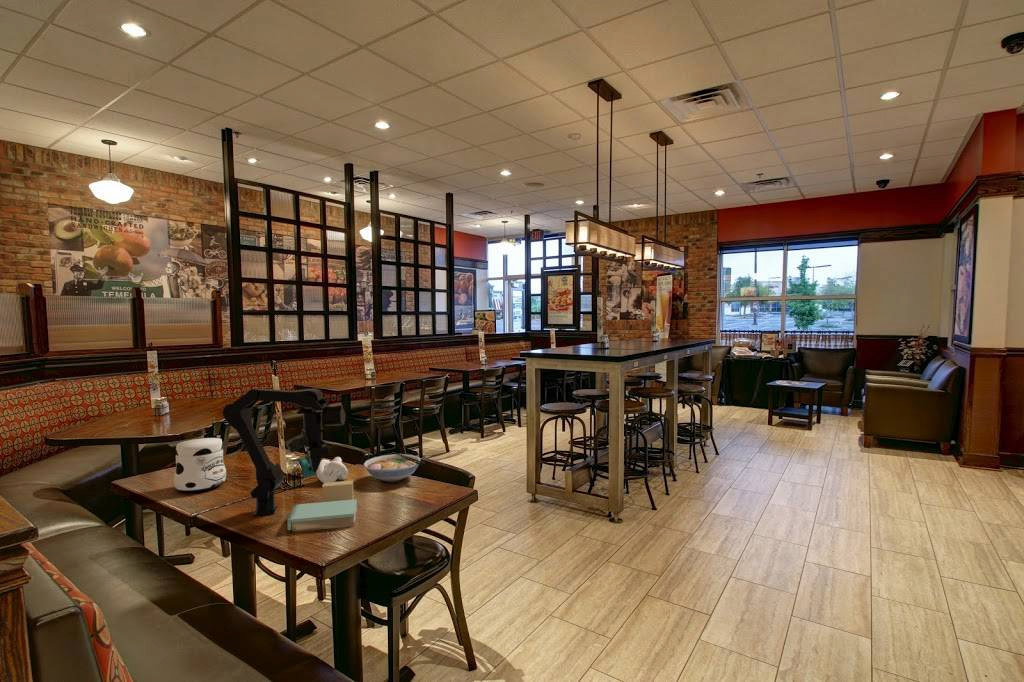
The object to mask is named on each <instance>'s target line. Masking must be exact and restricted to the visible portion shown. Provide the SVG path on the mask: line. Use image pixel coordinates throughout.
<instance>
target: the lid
mask: <svg viewBox="0 0 1024 682" xmlns="http://www.w3.org/2000/svg"><path fill="white" fill-rule="evenodd" d="M357 500H358V499H357V498H355V499H354V498H353V500H343V501H331V502H323V501H321V502H311V503H310V502H309V503H301V504H300V503H299V504H295V505H294V507H293V509H292V511H291V512H290V515H289V516H288V518H287V531H292V523H294V522H304V521H314V520H325V519H335V518H345V517H354V515H355V509H356V504H357V505H358V501H357Z"/></svg>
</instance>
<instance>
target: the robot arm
mask: <svg viewBox="0 0 1024 682" xmlns="http://www.w3.org/2000/svg"><path fill="white" fill-rule="evenodd" d="M323 395H324V394H323V392H322V390H320V389H319V388H316V387H315V388H306V389H299V390H289V389H288V390H287V389H276V388H275V389H274V388H273V389H272V388H262V387H261V388H260V387H254V388H251V389H249V390H248V391H247V392H246V393H245V394H243V395H242V396H241V397H239V398H238V399H236V400H235V401H233V402H231V403H228V404H227V405H225V406H224V408H223V410H222V413H221V414H222V417H223V418H224V420H225V421H226V423H228V424H227V425H229V426H230V427H231V428H233V429H234V430H236V432H237V434H238V436H239V437H240V440H241V442H242V444H243V445H244V447H245V450H246V452H247V454H248V456H249V457H250V460H251V462H252V464H253V466H254V467H255V468H254V469H255V479H256V483H257V486H255V487H254V488H253V489H252V490H251V491H250V496H251V498H252V499H255V511H254V512H253V514H252V516H253V517H257V516H268V515H274V514H275V513H276V512H277V510H278V508H279V507H278V506H279V505H276V496H275V495H276V493H275V492H276V491H277V490H278V489H279V486H280V485H281V484H282V483H283V482H284V475H285V474H284V472H283V471H282V470H281V465H280V463H278V462H277V463H276V464H274V462H272V461H271V460H270V458H269V456H268V454H267V452H266V450H265V448H264V446H263V443H262V442H261V440H260V438H259V436H258V434H257V432H256V430H255V428H254V426H253V423H252V419H253V418H252V416H253V415H252V411H251V409H252V408H253V407H254V406H255V405H256V404H257V403H258V402H260V401H262V402H274V403H275V402H277V403H289V404H295V405H296V406H299V407H300V408H299V410H297V411H296V414H297V415H302V417H303V428H302V430H301V434H299V435H296V436H294V437H292V438H290V439H288V440H286V441H285V445H286V447H287V449H288V451H289V452H290V453H293V452H296V451H297V450H298V449H303V447H304V450H302V453H303V454H304V455H305V456H308V458H309V461H310V464H311V467H312V471H313V472H317V469H318V467H319V465H320V462H321V460H323V457H324V456H329V455H330V454H331V449H330V447H328V445H326V444H325V440H323V433H324V428H323V425H325V426H327V427H329V426H344V425H345V422H346V412H345V409H344V407H343V406H344V405H343V404H337V405H330V404H329V402H328V401H327V400H326V399H325V398H324V396H323Z"/></svg>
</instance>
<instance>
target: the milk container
mask: <svg viewBox="0 0 1024 682" xmlns="http://www.w3.org/2000/svg"><path fill="white" fill-rule="evenodd" d="M222 440H223V439H222V438H218V437H204V438H194V439H188V440H184V441H181V442H178V443H176V447H175V464H176V465H175V471H174V473H173V485H174V488H175V489H176V490H177V491H179V492H183V493H197V492H202V491H203V492H204V491H207V490H211V489H214V488H217V487H219V486H222V484H224V482H225V480H226V479H227V468H226V465H225V463H224V449H223V448H224V446H223V441H222Z"/></svg>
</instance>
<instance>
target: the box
mask: <svg viewBox="0 0 1024 682" xmlns="http://www.w3.org/2000/svg"><path fill="white" fill-rule="evenodd" d="M357 513H358V503H357V504H356V509H355V515H354V517H345V518H335V519H325V520H314V521H304V522H294V523H292V529H291V531H292V532H291V533H298V532H309V531H310V532H311V531H317V530H326V529H327V530H328V529H329V530H330V529H338V528H350V527H355V523H356V517H357Z"/></svg>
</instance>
